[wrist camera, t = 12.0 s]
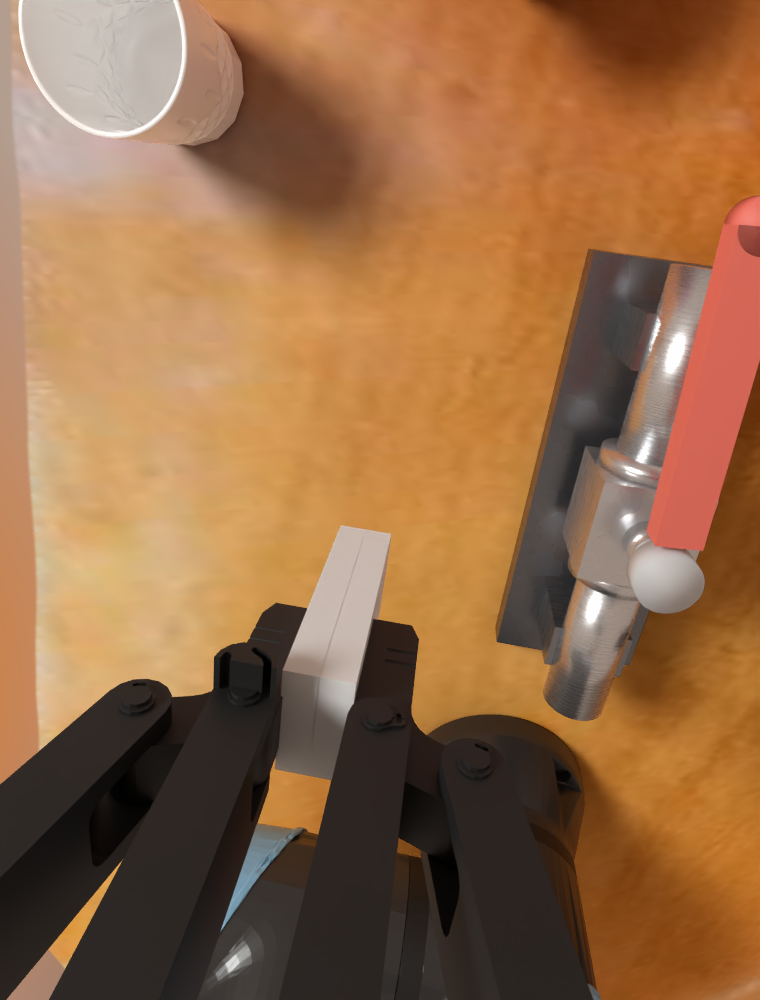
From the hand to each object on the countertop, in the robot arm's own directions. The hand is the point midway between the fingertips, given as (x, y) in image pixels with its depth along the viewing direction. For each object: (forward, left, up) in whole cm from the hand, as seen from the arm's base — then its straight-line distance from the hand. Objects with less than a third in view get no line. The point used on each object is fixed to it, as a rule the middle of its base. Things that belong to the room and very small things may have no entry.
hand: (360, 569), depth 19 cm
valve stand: (-5, -14, -26) cm, 30 cm away
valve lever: (+3, -13, -14) cm, 19 cm away
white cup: (+15, +16, -27) cm, 34 cm away
